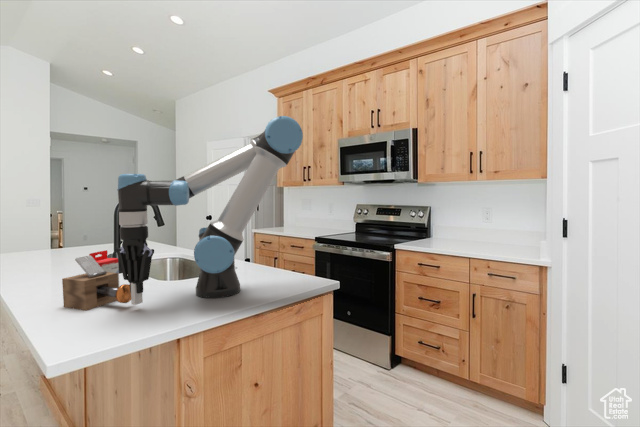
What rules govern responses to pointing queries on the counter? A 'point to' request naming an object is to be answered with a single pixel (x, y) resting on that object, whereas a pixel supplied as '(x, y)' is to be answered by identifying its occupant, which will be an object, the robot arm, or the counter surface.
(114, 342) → the counter surface
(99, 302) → the block
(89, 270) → the plate
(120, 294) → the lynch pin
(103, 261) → the ink box
